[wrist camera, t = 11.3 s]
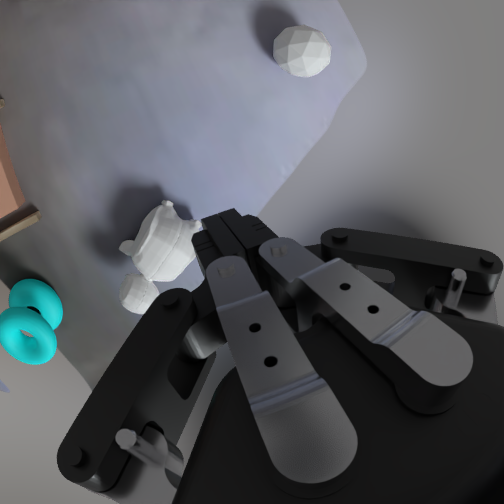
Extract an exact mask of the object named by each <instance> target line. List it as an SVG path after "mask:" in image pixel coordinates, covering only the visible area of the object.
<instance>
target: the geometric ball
mask: <svg viewBox="0 0 504 504" xmlns="http://www.w3.org/2000/svg"><path fill="white" fill-rule="evenodd" d="M330 55H331V46H330V44H329V42H328V41H327V39H326V38H325V36H324V35H323V33H322V32H320V31H318V30H316V29H313V28H311V27H309V26H306V25H299V26H293V27H288V28H285V29H284V30H283V31H282V32H281V33H280V34H279V35H278V36H277V37H276V38H275V39H274V46H273V57H274V59H275V60H276V62H277V64H278V65H279V66H280V67H281V68H282V69H283V70H284V71H286V72H288V73H290V74H292V75H295V76H299V77H311V76H313V75H316V74H318V73H319V72H321V71H322V70H323V69H324V68H325V67H326V66H327V65H328V64H329V63H330Z"/></svg>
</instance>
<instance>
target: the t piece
mask: <svg viewBox="0 0 504 504" xmlns="http://www.w3.org/2000/svg"><path fill="white" fill-rule="evenodd" d="M24 202H25V199H24V196H23V194H22V191H21V188H20V186H19V183H18V180H17V177H16V175H15V172H14V169H13V166H12V163H11V160H10V157H9V153H8V150H7V147H6V143H5V139H4V136H3V132H2V128H1V124H0V218H2V217H4V216H5V215H7V214H9V213H11V212H12V211H14V210H16V209H18V208H19V207H20V206H21V205H22V204H23V203H24Z"/></svg>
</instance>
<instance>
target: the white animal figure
mask: <svg viewBox="0 0 504 504" xmlns="http://www.w3.org/2000/svg"><path fill="white" fill-rule="evenodd" d="M161 203H162V205H159V206H157V207H156V208H154V209H152V210H151V212H150V213H149V214H148V215H147V216H146V218H145V219H144V220H143V222H142V223H141V228H140V229H139V233H138V234H137V236H136V239H135V241H133V240H126V241H123V242H122V244H121V245H120V247H119V250H120V251H122V252H123V253H125V254H126V255H128V256H131V258H132V260H133V263H134V265H135V266H136V268H137V269H138V270H139V271H140V272H141V274H140V275H139V274H133V273H131V274H127V275H126V276H125V279H124V281H123V282H122V284H121V286H120V292H119V299H120V302H121V303H122V305H123V306H124V307H125V308H126V309H128V310H129V311H131V312H133V313H137V314H144V313H145V312H146V311H147V309H148V308H149V306H150V305H151V304H152V302H153V301H154V300H155V298H156V297H157V296H158V295H159V291H158V289H157V287H156V286H155V285H154V284H153V283H152V282H153V280H154V281H164V282H167V281H173V280H174V279H175V278H176V277H177V276H178V275H179V274H181V273H182V272H183V270H184V269H185V268H186V266H187V265H188V264H189V263H190V262H191V261H192V260H193V259H194V258H195V257H196V254H195V251H194V248H193V245H192V242H191V239H192V236H193V234H194V233H196V232H199V230H198V228H199V227H201V226H202V223H201V222H200V221H198V220H194V219H190V220H189V221H187V220H182V219H181V218H179V216H178V215H177V213H176V212H175V210H174V208H173V203H172V202H170V201H169V200H168V201H165V200H163V201H162V202H161Z"/></svg>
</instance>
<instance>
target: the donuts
mask: <svg viewBox="0 0 504 504" xmlns="http://www.w3.org/2000/svg"><path fill="white" fill-rule="evenodd" d="M27 306H33V307H35V308H37V309H38V310H39V311H40V313H41V315H40V314H38V313H37V312H35V311H33V310H31V309H28V308H27ZM9 307H10V308H8V309H6V310H5V311H3V312H2V313H1V315H0V343H1V345H2V346H3V348H4V349H5V350H6V351H7V352H8V353H9V354H10V355H11V356H13V357H14V358H15V359H17V360H19V361H21V362H24V363H27V364H34V365H36V364H43V363H45V362H47V361H49V360H50V359H51V358H52V357H53V356H54V354H55V351H56V347H57V341H56V336H55V333H54V331H53V330H54V329H55V328H56V327H57V326H58V325H59V324H60V322H61V320H62V315H63V309H62V304H61V301H60V299H59V297H58V295H57V294H56V292H55V291H54V290H53V289H52V288H51V287H50V286H49V285H47V284H46V283H44V282H42V281H39V280H36V279H24V280H21V281H19V282H17V283H16V284H15V285H14V286H13V288H12V289H11V291H10V294H9ZM20 330H24V331H27V332H29V333H30V334H32V335H33V336H34V337H28V336H26V335H24V334H23V333H22V332H21V331H20Z"/></svg>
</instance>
